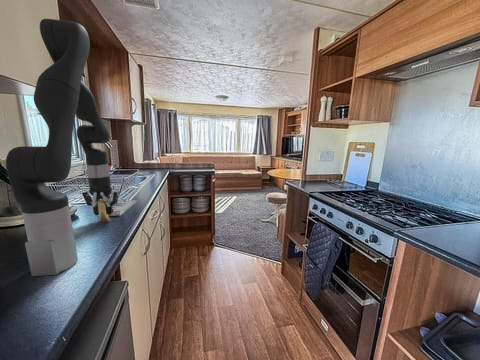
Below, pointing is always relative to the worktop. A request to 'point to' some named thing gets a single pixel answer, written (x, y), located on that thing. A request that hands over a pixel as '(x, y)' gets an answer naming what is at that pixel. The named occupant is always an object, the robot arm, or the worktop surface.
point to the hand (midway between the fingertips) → (103, 214)
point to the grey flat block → (122, 207)
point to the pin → (102, 211)
